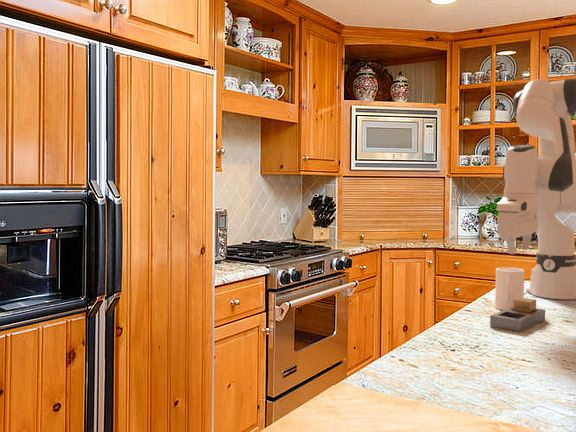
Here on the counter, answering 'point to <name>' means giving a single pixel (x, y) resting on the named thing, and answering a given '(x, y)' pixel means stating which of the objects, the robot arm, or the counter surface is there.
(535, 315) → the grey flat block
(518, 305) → the wooden toy block
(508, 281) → the mug
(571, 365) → the counter surface
